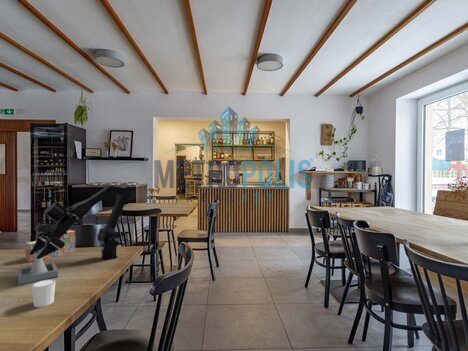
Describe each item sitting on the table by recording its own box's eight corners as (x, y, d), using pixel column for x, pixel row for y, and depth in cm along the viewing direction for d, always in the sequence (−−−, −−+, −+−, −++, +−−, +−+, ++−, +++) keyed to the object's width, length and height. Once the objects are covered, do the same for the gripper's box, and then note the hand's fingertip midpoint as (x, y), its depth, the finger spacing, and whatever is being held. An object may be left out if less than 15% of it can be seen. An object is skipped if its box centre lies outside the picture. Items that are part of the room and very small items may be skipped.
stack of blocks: (30, 262, 130) (30, 238, 130) (25, 260, 133) (25, 236, 133) (75, 252, 147) (75, 230, 147) (70, 250, 151) (70, 229, 151)
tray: (54, 268, 122) (54, 262, 122) (57, 277, 112) (57, 270, 112) (17, 275, 113) (17, 269, 113) (18, 285, 103) (18, 278, 103)
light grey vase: (29, 279, 107) (29, 256, 107) (25, 275, 112) (25, 252, 112) (50, 274, 113) (50, 252, 113) (46, 270, 118) (45, 248, 117)
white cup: (39, 298, 93) (39, 279, 93) (60, 297, 93) (59, 278, 93) (26, 308, 86) (26, 287, 86) (47, 307, 86) (47, 287, 86)
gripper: (40, 214, 121) (10, 242, 112) (56, 218, 110) (23, 250, 101) (60, 228, 127) (32, 256, 118) (76, 233, 116) (47, 264, 107)
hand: (33, 256), depth 111 cm, fingers open, 9 cm apart
